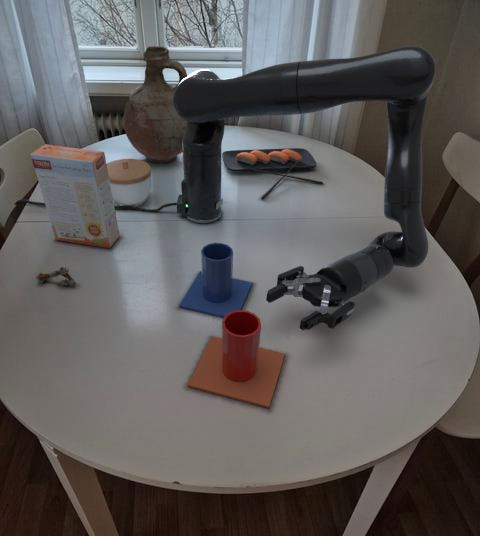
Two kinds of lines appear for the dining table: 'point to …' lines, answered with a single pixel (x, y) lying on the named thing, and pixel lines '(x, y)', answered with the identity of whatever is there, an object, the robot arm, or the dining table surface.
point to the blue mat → (200, 304)
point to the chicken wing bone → (62, 271)
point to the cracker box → (77, 194)
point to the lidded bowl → (129, 181)
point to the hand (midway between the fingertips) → (284, 311)
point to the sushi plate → (270, 161)
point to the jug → (155, 110)
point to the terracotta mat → (249, 391)
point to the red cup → (240, 345)
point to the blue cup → (217, 272)
